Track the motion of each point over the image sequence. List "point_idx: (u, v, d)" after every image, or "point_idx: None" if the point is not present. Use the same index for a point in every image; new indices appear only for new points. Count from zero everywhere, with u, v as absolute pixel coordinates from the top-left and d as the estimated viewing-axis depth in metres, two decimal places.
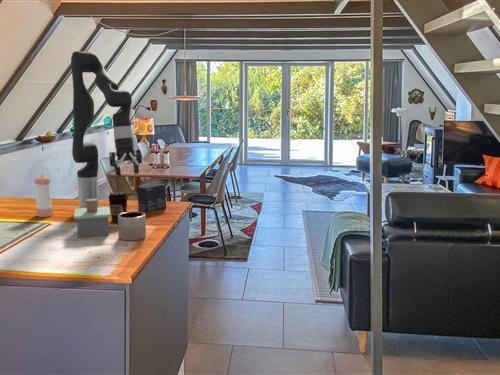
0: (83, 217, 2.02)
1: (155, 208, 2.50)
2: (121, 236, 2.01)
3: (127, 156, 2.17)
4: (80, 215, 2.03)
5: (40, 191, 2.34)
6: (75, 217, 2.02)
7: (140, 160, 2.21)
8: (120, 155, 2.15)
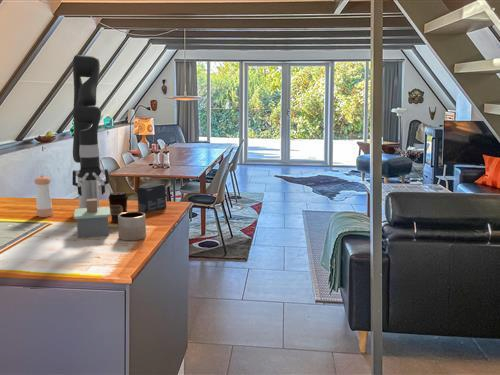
0: (83, 217, 2.02)
1: (155, 208, 2.50)
2: (121, 236, 2.01)
3: (91, 176, 2.06)
4: (80, 215, 2.03)
5: (40, 191, 2.34)
6: (75, 217, 2.02)
7: (107, 181, 2.08)
8: (82, 174, 2.05)
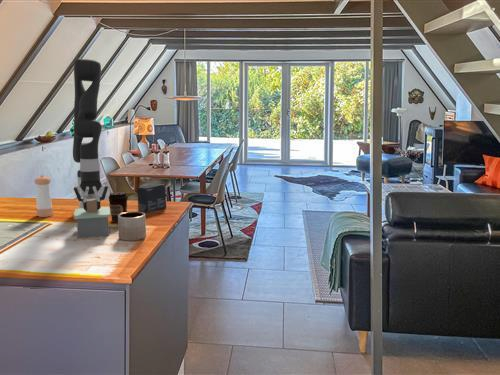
0: (83, 217, 2.02)
1: (155, 208, 2.50)
2: (121, 236, 2.01)
3: (91, 189, 2.07)
4: (80, 215, 2.03)
5: (40, 191, 2.34)
6: (75, 217, 2.02)
7: (103, 197, 2.09)
8: (83, 189, 2.06)
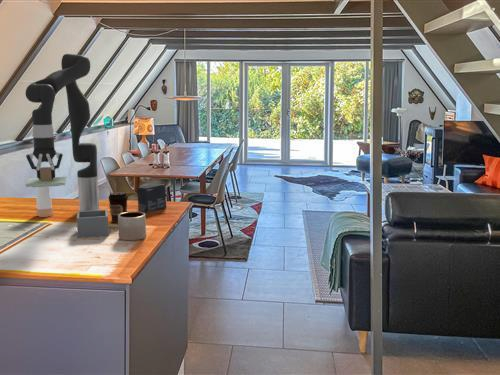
0: (35, 185, 1.95)
1: (155, 208, 2.50)
2: (121, 236, 2.01)
3: (45, 157, 1.99)
4: (33, 183, 1.96)
5: (40, 191, 2.34)
6: (27, 185, 1.94)
7: (57, 165, 2.01)
8: (37, 157, 1.99)
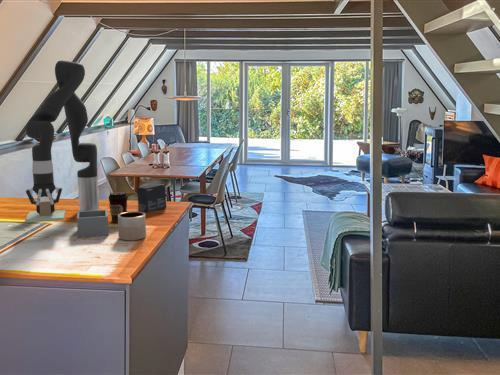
0: (35, 220, 1.97)
1: (155, 208, 2.50)
2: (121, 236, 2.01)
3: (44, 192, 2.02)
4: (32, 218, 1.98)
5: None
6: (26, 220, 1.96)
7: (57, 199, 2.04)
8: (36, 192, 2.01)
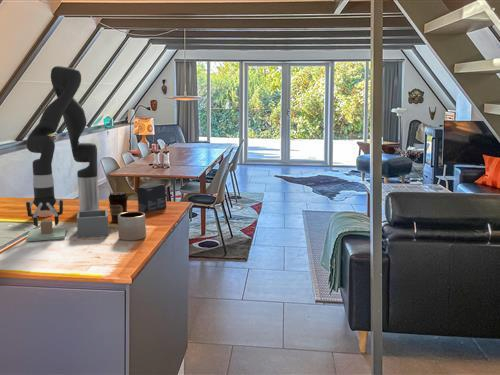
0: (36, 239, 1.99)
1: (155, 208, 2.50)
2: (121, 236, 2.01)
3: (45, 206, 2.03)
4: (33, 237, 2.00)
5: None
6: (28, 239, 1.98)
7: (60, 211, 2.05)
8: (36, 205, 2.02)
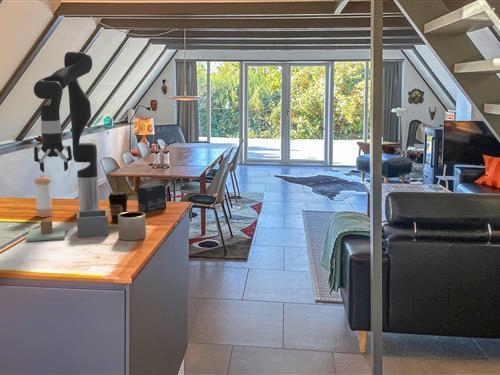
0: (36, 239, 1.99)
1: (155, 208, 2.50)
2: (121, 236, 2.01)
3: (53, 152, 2.05)
4: (33, 237, 2.00)
5: (40, 191, 2.34)
6: (28, 239, 1.98)
7: (69, 157, 2.07)
8: (44, 150, 2.04)
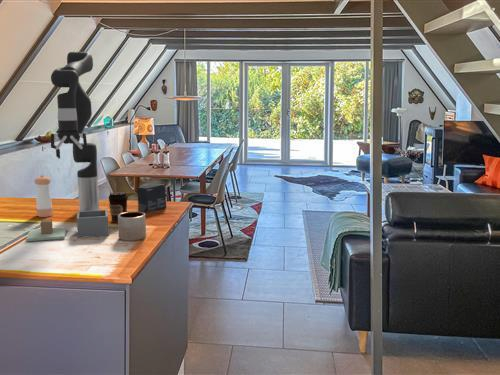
0: (36, 239, 1.99)
1: (155, 208, 2.50)
2: (121, 236, 2.01)
3: (69, 139, 2.11)
4: (33, 237, 2.00)
5: (40, 191, 2.34)
6: (28, 239, 1.98)
7: (85, 144, 2.13)
8: (60, 137, 2.10)
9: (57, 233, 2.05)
